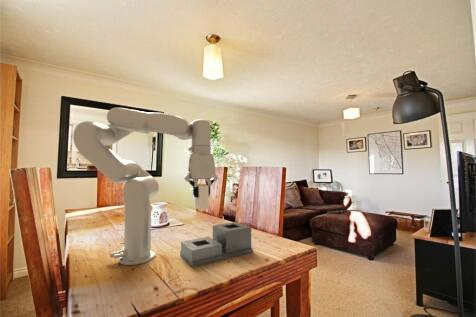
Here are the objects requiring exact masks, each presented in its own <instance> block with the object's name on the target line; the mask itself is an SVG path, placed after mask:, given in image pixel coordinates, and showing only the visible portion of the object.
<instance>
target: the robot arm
mask: <svg viewBox="0 0 476 317" xmlns="http://www.w3.org/2000/svg"><path fill="white" fill-rule="evenodd" d="M106 119H107V122H108V124H107V125H104V124H102V123H99V122H95V121H82V122H80V123H78V124H77V125H76V126H75V128H74V130H73V137H72V138H73V143H74V146H75V148H76V149H77V151H78V152H79V153H80V155H81V156H82V157H84V159H86V160H87V161H88V162H90V163H91V164H92V165H93V166H94V167H95V169H97V171H99V172H101V174H102V175H103V176H105V177H106V178H107V180H109V181H110V182H112V183H114V184H124V185H123V189H122V198H123V205H124V206H123V208H124V226H123V227H124V232H123V233H124V237H123V238H124V239H123V240H124V241H123V243H124V244H123V246H122V249H120V250H118V251H112V252H109V258H110V259H112V258H114V259H118V262H119V264H121V265H124V266H134V265H135V266H136V265H140V264H145V263H147V262H150V261H152V260H153V259H154V258H155V256H156V253H155V252H154V251H153V250H152V206H151V200H150V199H152V198H154V197H155V196H156V195H158V192H159V190H160V189H159V188H160V186H159V182H158V181H157V180H156V179H155V177H153V176H152V175H151V174H150V173H149V172H147V170H145V168H143V167H142V166H140V164H139V163H136V162H134V161H132V160H126V159H122V158H121V157H119V155H117V154H116V153H115V152H114V151H113V150H112V149H110V148H109V147H110V146H111V145H114V144H116V143H118V142H119V141H121V140H122V139H124V138H126V137H128V136H129V135H131V134H132V133H135V132H136V133H141V134H146V135H148V134H150V133H159V134H163V135H164V134H165V135H169V136H174V137H176V138H177V139H178V140H182V141H186V140H191V147H188V148H187V150H188V152H190V153H191V154H189V160H188V167H187V168H188V169H187V174H186V175H185V177H184V179H183V180H184V181H185V182H187V183H188V184H189V185H191V187H192V195H193V197H194V198H195V197H196V198H198V197H199V191H198V187H197V186H198V184H199V180H204V182H205V183H204V184H206V185H208V186H209V197H210V195H211V187H212V186H213V183H215V182H216V181H217V180H218V178H219V177H218V175H217V174H216V166H215V165H216V164H215V158H214V154H213V153H212V151H211V150H212V149H211V148H212V146H211V141H212V140H211V139H212V138H211V122H210V121H209V120H207V119H195V120H193V121H192V122H189V121H188V120H187V119H185V118H184V117H181V116H178V115H174V114H169V113H168V114H167V113H163V112H146V111H140V110H136V109H129V108H124V107H113V108H111V109H109V110H108V112H107V113H106Z"/></svg>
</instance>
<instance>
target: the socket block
mask: <svg viewBox="0 0 476 317" xmlns="http://www.w3.org/2000/svg"><path fill="white" fill-rule="evenodd" d="M179 252H180V254H179V255H180V257H182V259H183V260H184V261H186V262H187V263H188V264H189V266H191V268H196V267H200V266H204V265H209V264H213V263H217V262H220V261H224V260H229V259H232V258H235V257H241V256H244V255H247V254H252V253H254V249H253V248H252V226H249V225H247V224H244V223H241V222H237V221H232V222H227V223H221V224H220V223H219V224H213V225H212V237H210V236H204V237H199V238H193V239H188V240H184V241H181V242H180V251H179Z"/></svg>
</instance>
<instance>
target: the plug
mask: <svg viewBox="0 0 476 317" xmlns="http://www.w3.org/2000/svg"><path fill="white" fill-rule="evenodd" d="M197 187H198V191H199V197H198V198H196V197H194V200H195V201H194V202H195V205H194V206H195V209H196V210H199V211H200V210H208V209H210V205H209V204H210V202H209V201H210V200H209V198H210V196H209V186H208V185H206V183H198V185H197Z"/></svg>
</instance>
